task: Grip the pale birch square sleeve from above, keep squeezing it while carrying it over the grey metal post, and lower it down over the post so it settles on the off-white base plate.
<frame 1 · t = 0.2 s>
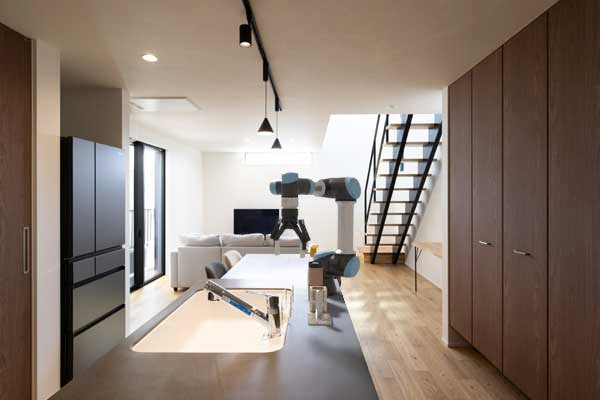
hand: (289, 256, 160), 27 cm above the counter, tool pointing down, fingers open, 13 cm apart
post stand: (319, 320, 158), on the counter
travel mug: (315, 301, 190), on the counter
soap bottle: (314, 285, 225), on the counter
birch sleeve: (317, 309, 175), on the counter
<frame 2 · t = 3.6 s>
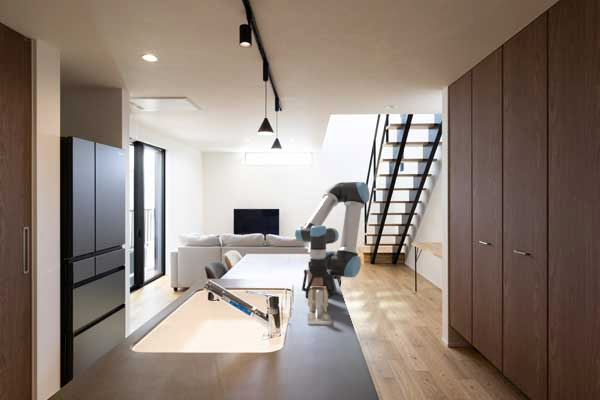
hand: (317, 305, 175), 2 cm above the counter, tool pointing down, fingers closed on birch sleeve, 8 cm apart
birch sleeve: (317, 309, 175), on the counter, touching gripper
everything else where it was.
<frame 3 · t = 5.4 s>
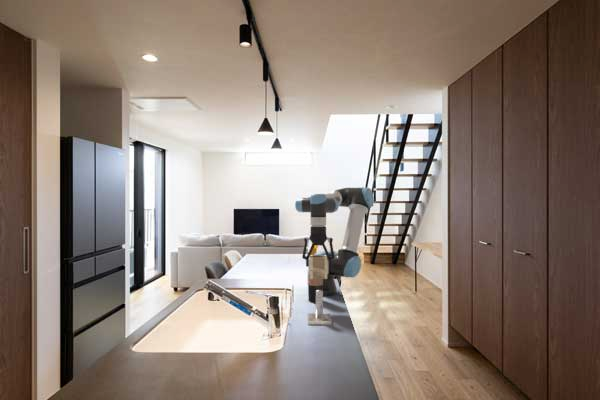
hand: (318, 273, 176), 17 cm above the counter, tool pointing down, fingers closed on birch sleeve, 8 cm apart
birch sleeve: (318, 277, 175), point 15 cm above the counter, touching gripper
everything else where it was.
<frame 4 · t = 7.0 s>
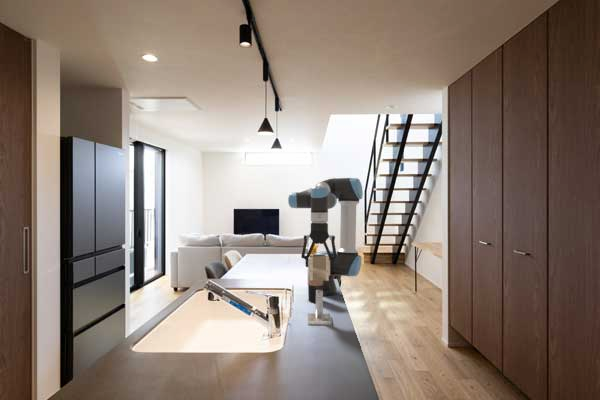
hand: (318, 274, 159), 20 cm above the counter, tool pointing down, fingers closed on birch sleeve, 8 cm apart
birch sleeve: (318, 278, 159), point 18 cm above the counter, touching gripper
everything else where it was.
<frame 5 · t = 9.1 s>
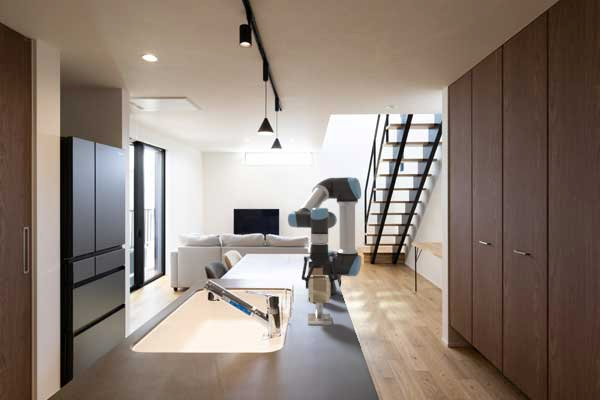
hand: (319, 296, 158), 11 cm above the counter, tool pointing down, fingers closed on birch sleeve, 8 cm apart
birch sleeve: (319, 300, 158), point 9 cm above the counter, touching gripper
everything else where it was.
when the fingers open (5 cm above the counter, at t = 10.8 s): birch sleeve drops 1 cm, resting on post stand.
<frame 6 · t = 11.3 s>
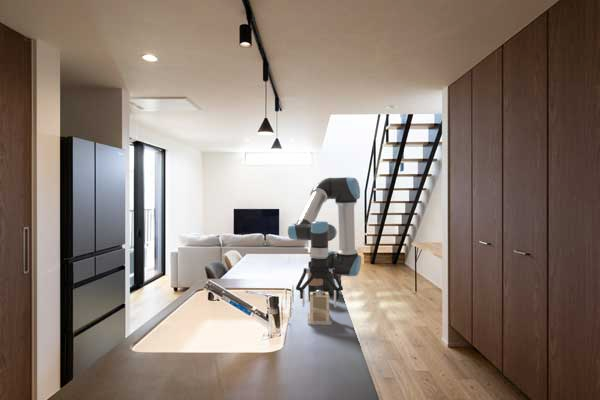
hand: (319, 306, 158), 6 cm above the counter, tool pointing down, fingers open, 13 cm apart
birch sleeve: (319, 317, 158), point 1 cm above the counter, touching post stand
everything else where it was.
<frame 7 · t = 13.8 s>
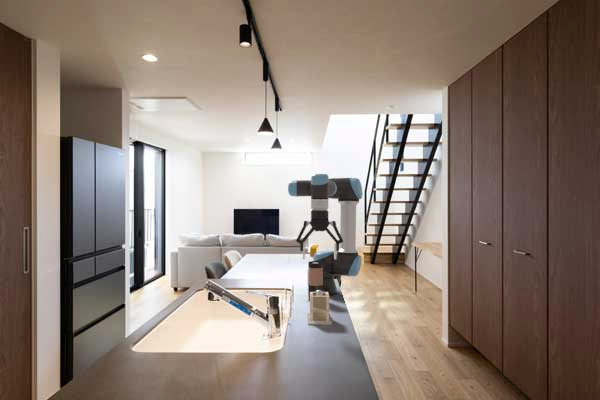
hand: (319, 258, 158), 27 cm above the counter, tool pointing down, fingers open, 13 cm apart
nothing on the counter moved.
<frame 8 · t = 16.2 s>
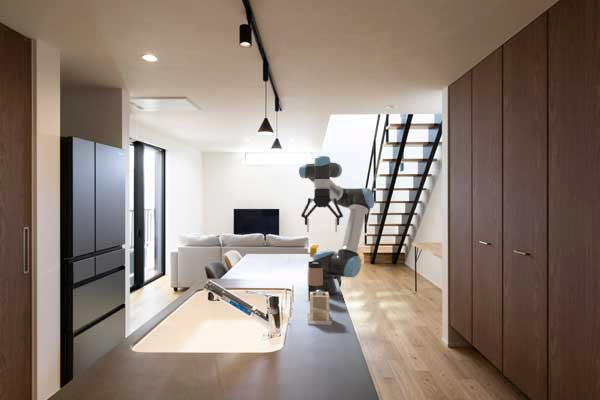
hand: (321, 232, 178), 37 cm above the counter, tool pointing down, fingers open, 13 cm apart
nothing on the counter moved.
at the end: birch sleeve 0.0 cm from the post stand (horizontally); birch sleeve point 1.5 cm above the counter; the gripper is holding nothing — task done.
